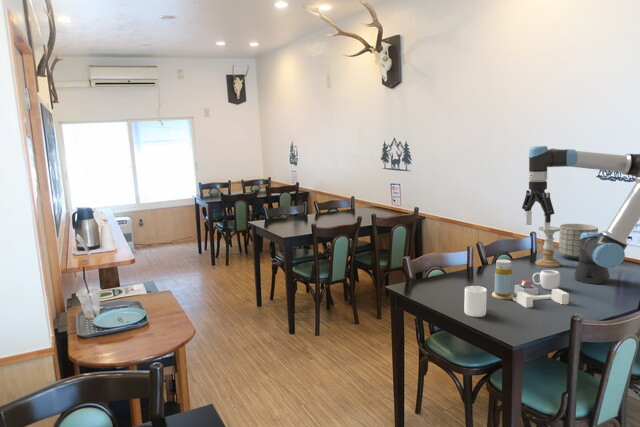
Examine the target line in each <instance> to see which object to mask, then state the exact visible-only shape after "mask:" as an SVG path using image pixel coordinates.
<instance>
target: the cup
mask: <svg viewBox="0 0 640 427" xmlns="http://www.w3.org/2000/svg"><path fill="white" fill-rule="evenodd" d="M487 290H488V289H487V288H486V287H483V286H479V285H469V286H465V287H464V301H463V302H464V303H463V304H464V306H463V307H464V308H463V309H464V310H463V311H464V314H465V315H467V316H469V317H473V318H483V317H484V316H486V313H487V294H488V292H487Z"/></svg>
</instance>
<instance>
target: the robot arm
mask: <svg viewBox="0 0 640 427" xmlns="http://www.w3.org/2000/svg"><path fill="white" fill-rule="evenodd" d="M528 154H529V155H528V167H529V168H528V180H529V181H528V189H529V190H526V193H525V196H524V197H525V198H524V199H523V200H524V201H523V203H522V206H521V209H522V210H524V217H525V220H524V221H525V222H524V225H525V226H532V221H533V220H532V218H533V217H532V214H533V212H532V209H533V206H534V205H535V203H536V202H537V203H539V204H540V207H541V209H542V211H543V213H544V214H543V227H544V228H543V230H550V227H551V216H552V215H555V210H554V206H553V203H552V199H551V193H550V192H545V191H546V190H547V189H548V181H547V180H548V168H556V167H557V168H561V167H562V168H564V167H565V168H566V167H568V168H577V169H578V168H580V169H589V170H590V169H591V170H599V171H606V172H607V171H608V172H618V173H621V174H622V175H626V176H632V177H634V179H635V180H634V181H635V184H634V185H633V187H632V189H631V190H630V192H629V193H628V195H627V196H626V198H625V199H624V202H623V203H622V205H621V206H620V208H619V209H618V211H617V213H616V214H615V215H614V217H613V219H612V221H611V222H610V224H609V226H608V227H607V228H606V230H603V231H600V232H598V233H595V232H586V233H582V234H581V235H580V248H579V260H578V264H577V266H576V268H575V271H574V273H573V279H574V280H576V281H578V282H581V283H586V284H594V285H602V284H603V285H604V284H609V283H610V281H611V276H610V273H609V269H611V268H616V267H619V265H621V264H622V263H623V262H624V260H625V256H626V254H625V250H626V248H627V247H628V245H629V244H628V238H629V236H630V234H631V233H632V232H633V230H634V228H635V226H637V224H638V222H639V221H640V153H625V154H624V155H622V154H610V153H601V152H589V151H580V150H576V149H573V148H568V149H559V148H548V146H547V145H538V146H537V145H536V146H535V145H534V146H531V147H530V148H529V153H528Z"/></svg>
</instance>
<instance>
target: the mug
mask: <svg viewBox="0 0 640 427" xmlns="http://www.w3.org/2000/svg"><path fill="white" fill-rule="evenodd" d="M536 275H539V282H536V281H535V276H536ZM532 282H533V283H534V284H535V285H540V286H541V287H542V288H543V289H544V290H550V291H552V289H559V286H560V283H561V274H560V272H559V271H557V270H555V269H554V270H553V269H543V270H541V271H540V272H535V273H533V275H532Z"/></svg>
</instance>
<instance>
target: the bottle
mask: <svg viewBox="0 0 640 427" xmlns="http://www.w3.org/2000/svg"><path fill="white" fill-rule="evenodd" d="M495 265H496V266H495V270H494V292H495V294H496V295H498V296H510V295H511V294H513V293H512V292H513V290H512V289H513V270H512V261H511V259H503V258H502V259H500V258H499V259H497V260H496V262H495Z"/></svg>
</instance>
